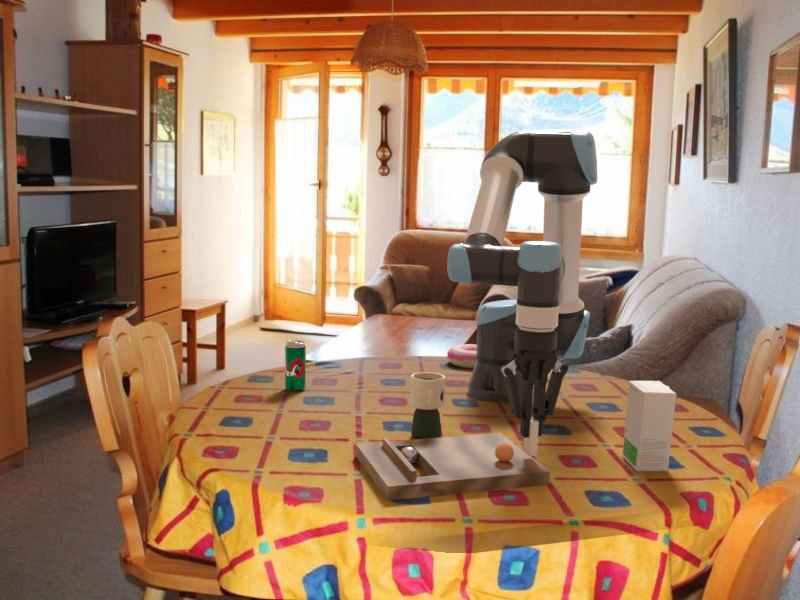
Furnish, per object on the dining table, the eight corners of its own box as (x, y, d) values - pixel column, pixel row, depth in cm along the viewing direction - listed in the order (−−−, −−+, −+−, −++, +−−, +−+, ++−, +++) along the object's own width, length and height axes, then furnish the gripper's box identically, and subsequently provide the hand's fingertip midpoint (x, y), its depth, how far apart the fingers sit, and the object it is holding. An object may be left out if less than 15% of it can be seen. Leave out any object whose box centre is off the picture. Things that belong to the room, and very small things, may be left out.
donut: (444, 368, 233) (444, 351, 232) (449, 357, 246) (450, 341, 245) (493, 371, 230) (493, 353, 230) (495, 360, 243) (496, 343, 243)
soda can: (309, 388, 208) (310, 341, 206) (296, 393, 204) (296, 345, 202) (294, 385, 211) (294, 338, 209) (280, 389, 206) (280, 342, 204)
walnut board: (499, 444, 170) (500, 425, 169) (549, 484, 149) (550, 463, 148) (355, 456, 161) (356, 436, 160) (387, 500, 140) (388, 477, 139)
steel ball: (400, 442, 158) (395, 459, 158) (405, 448, 155) (400, 466, 155) (416, 445, 159) (412, 462, 159) (422, 451, 156) (417, 469, 156)
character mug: (447, 445, 168) (449, 382, 166) (412, 446, 168) (414, 383, 166) (438, 428, 179) (440, 369, 177) (405, 428, 178) (407, 369, 176)
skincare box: (621, 456, 164) (626, 379, 162) (654, 456, 165) (660, 379, 162) (637, 472, 156) (642, 391, 153) (671, 472, 156) (677, 391, 154)
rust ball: (508, 457, 155) (509, 439, 154) (516, 463, 152) (517, 445, 151) (491, 459, 154) (492, 441, 153) (499, 465, 151) (500, 447, 150)
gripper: (559, 322, 156) (552, 444, 160) (494, 325, 152) (489, 449, 156) (579, 330, 149) (571, 457, 152) (512, 333, 145) (506, 463, 149)
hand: (530, 453), depth 154 cm, fingers closed
